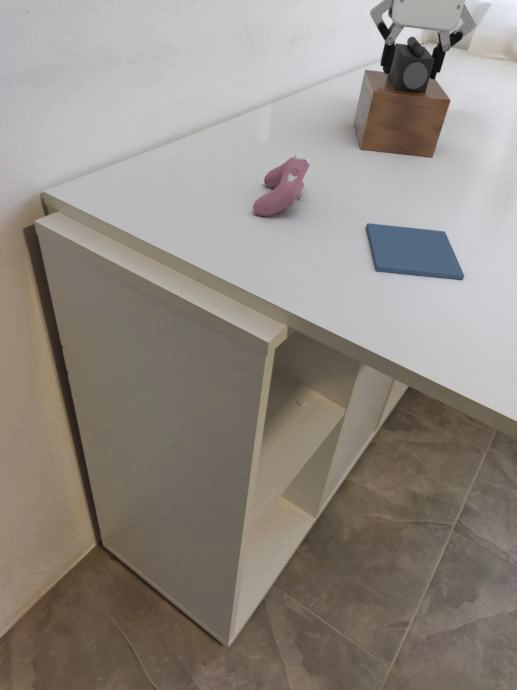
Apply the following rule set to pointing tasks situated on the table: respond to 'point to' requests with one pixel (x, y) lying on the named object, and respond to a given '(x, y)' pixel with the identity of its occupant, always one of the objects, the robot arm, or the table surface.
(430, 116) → the wooden block
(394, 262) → the felt pad
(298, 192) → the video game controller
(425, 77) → the dark grey boxy piece
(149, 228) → the table surface
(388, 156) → the table surface
